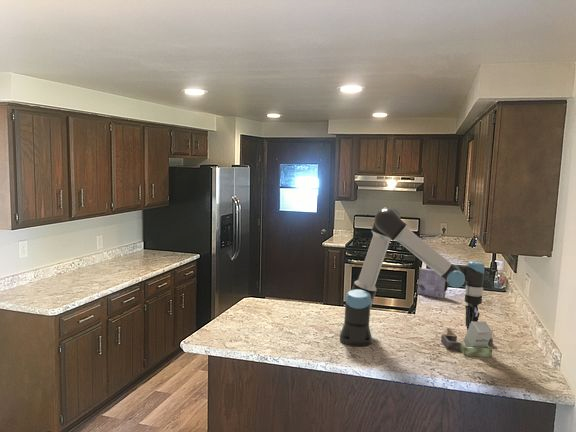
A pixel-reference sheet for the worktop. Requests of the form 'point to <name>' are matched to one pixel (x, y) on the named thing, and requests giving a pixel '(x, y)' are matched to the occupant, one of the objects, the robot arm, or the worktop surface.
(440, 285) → the cake pan box
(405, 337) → the worktop surface
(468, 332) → the supplement box
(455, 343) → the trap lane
